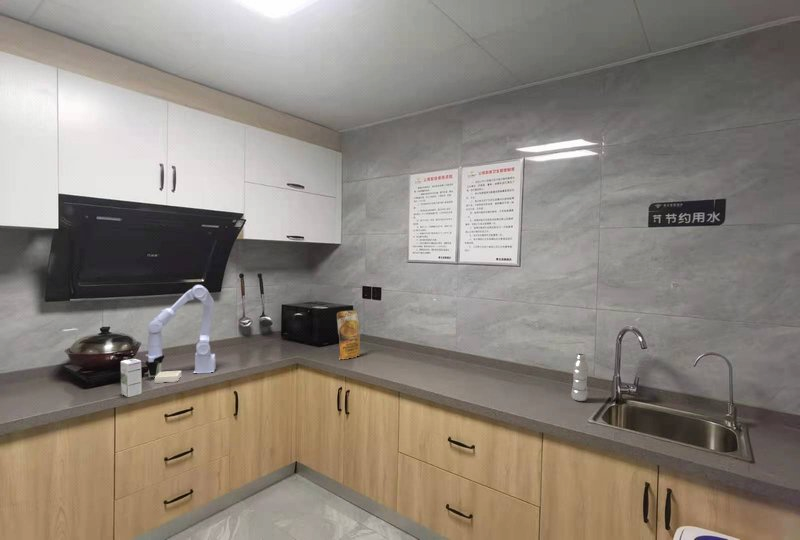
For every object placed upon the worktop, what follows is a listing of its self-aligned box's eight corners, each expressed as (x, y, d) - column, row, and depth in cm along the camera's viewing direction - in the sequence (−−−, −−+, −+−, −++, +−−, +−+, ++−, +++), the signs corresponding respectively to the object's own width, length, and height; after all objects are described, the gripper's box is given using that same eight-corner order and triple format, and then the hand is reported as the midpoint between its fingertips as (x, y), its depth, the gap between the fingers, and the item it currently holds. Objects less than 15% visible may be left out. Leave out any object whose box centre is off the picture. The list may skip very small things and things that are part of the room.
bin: (181, 376, 197) (181, 370, 197) (177, 382, 188) (177, 376, 188) (160, 378, 194) (160, 371, 194) (154, 383, 185) (154, 377, 185)
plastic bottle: (568, 400, 175) (570, 354, 175) (574, 396, 180) (576, 351, 179) (583, 404, 171) (585, 357, 170) (589, 400, 175) (591, 354, 175)
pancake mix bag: (332, 359, 236) (333, 311, 235) (356, 354, 250) (357, 308, 249) (339, 361, 231) (340, 312, 231) (363, 355, 246) (364, 310, 245)
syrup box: (142, 393, 172) (142, 360, 172) (127, 397, 167) (127, 362, 166) (135, 391, 175) (135, 358, 174) (120, 395, 170) (120, 360, 169)
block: (161, 374, 199) (161, 362, 199) (159, 377, 195) (159, 365, 195) (151, 375, 198) (151, 363, 198) (148, 378, 194) (148, 365, 193)
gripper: (150, 342, 202) (150, 369, 202) (141, 348, 188) (141, 377, 188) (166, 341, 204) (166, 368, 204) (158, 348, 190) (158, 376, 190)
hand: (155, 373), depth 196 cm, fingers open, 7 cm apart
